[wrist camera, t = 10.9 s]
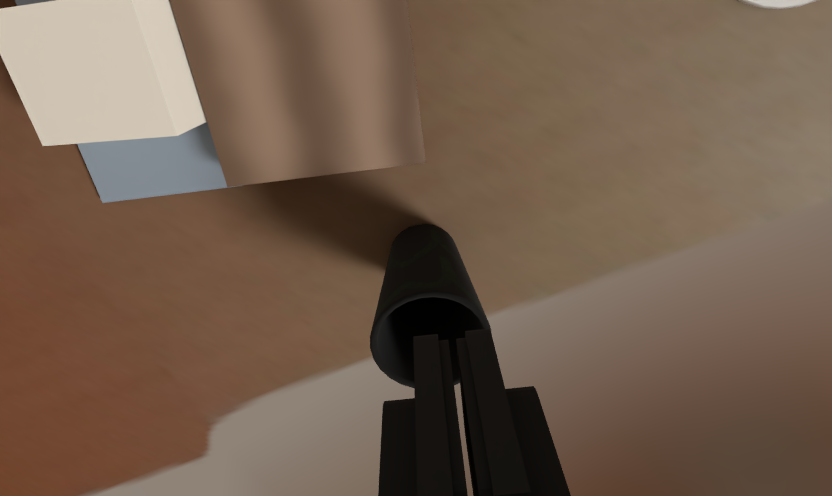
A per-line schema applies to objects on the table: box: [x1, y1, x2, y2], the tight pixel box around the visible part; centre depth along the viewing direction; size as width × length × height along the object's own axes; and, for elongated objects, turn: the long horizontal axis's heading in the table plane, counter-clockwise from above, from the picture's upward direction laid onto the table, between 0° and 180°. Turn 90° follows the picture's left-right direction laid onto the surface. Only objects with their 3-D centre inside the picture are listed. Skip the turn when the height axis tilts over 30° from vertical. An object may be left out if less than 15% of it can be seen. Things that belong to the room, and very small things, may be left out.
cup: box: [370, 224, 492, 388], centre depth 37 cm, size 8×8×12 cm
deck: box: [170, 0, 426, 187], centre depth 33 cm, size 14×16×4 cm
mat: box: [15, 0, 243, 203], centre depth 35 cm, size 11×18×1 cm, turn 7°
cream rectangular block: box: [0, 0, 207, 146], centre depth 32 cm, size 10×8×4 cm
